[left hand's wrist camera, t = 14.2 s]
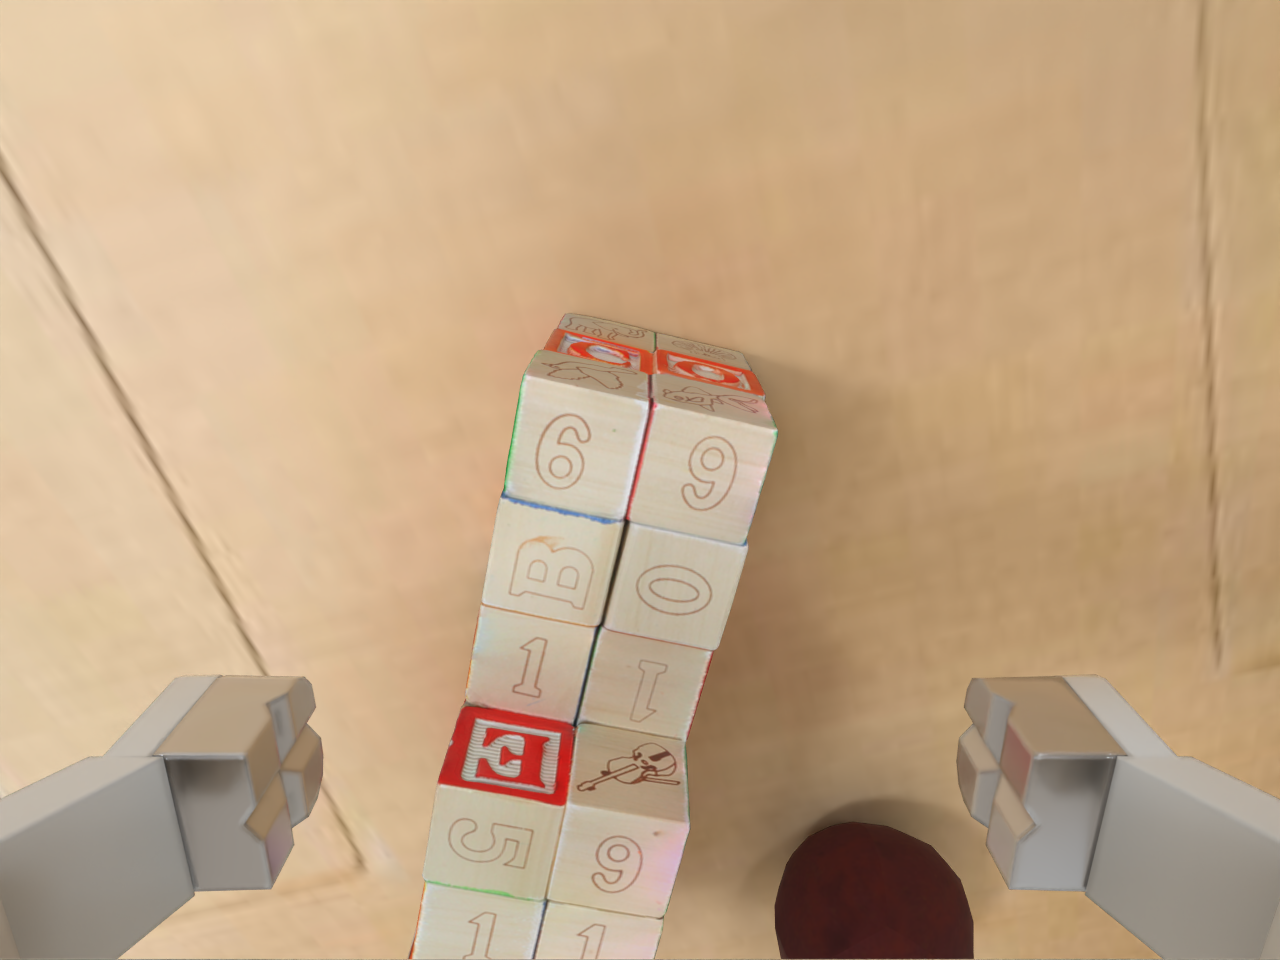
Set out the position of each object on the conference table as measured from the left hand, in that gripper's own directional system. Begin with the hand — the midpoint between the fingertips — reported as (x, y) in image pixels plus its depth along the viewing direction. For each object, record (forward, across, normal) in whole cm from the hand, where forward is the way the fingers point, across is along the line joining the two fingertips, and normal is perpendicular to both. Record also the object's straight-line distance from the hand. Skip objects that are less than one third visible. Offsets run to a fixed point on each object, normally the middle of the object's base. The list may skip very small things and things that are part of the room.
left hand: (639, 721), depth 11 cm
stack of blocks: (+19, -2, -9) cm, 21 cm away
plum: (+19, +9, -20) cm, 29 cm away
